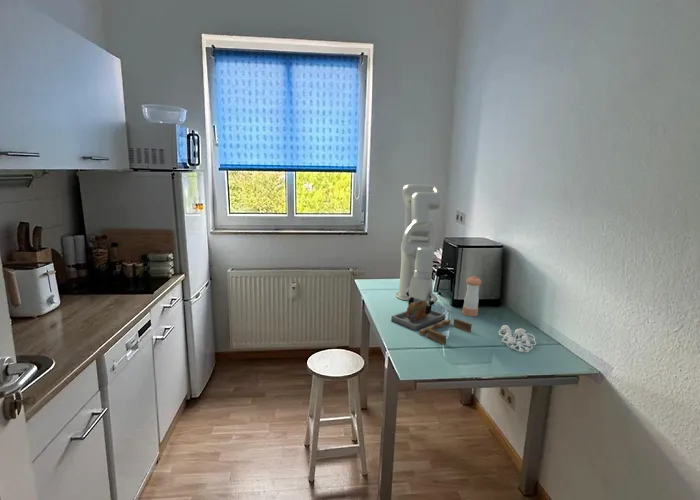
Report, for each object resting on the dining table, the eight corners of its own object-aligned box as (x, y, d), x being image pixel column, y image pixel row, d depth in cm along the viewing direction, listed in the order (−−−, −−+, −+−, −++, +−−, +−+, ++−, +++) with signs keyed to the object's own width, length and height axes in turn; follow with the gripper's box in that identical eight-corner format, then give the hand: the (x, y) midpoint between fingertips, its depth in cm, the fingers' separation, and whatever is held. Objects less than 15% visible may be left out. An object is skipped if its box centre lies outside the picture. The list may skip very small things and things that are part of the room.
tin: (410, 323, 181) (411, 305, 179) (404, 321, 183) (406, 303, 181) (430, 316, 191) (431, 299, 189) (424, 314, 193) (426, 297, 191)
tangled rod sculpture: (538, 359, 158) (541, 350, 157) (500, 350, 162) (502, 340, 160) (532, 338, 176) (534, 329, 175) (497, 330, 180) (499, 321, 179)
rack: (447, 323, 186) (448, 315, 185) (471, 331, 177) (471, 324, 177) (419, 334, 171) (420, 326, 171) (443, 344, 163) (444, 336, 162)
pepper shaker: (479, 316, 195) (484, 278, 191) (464, 316, 196) (468, 277, 191) (475, 311, 203) (479, 274, 198) (460, 310, 203) (464, 273, 199)
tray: (420, 310, 199) (421, 306, 199) (444, 319, 190) (445, 314, 189) (391, 321, 184) (391, 316, 184) (415, 331, 175) (416, 325, 174)
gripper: (402, 271, 186) (399, 306, 190) (433, 280, 174) (429, 318, 178) (412, 268, 191) (409, 303, 195) (443, 277, 179) (439, 314, 183)
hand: (419, 310), depth 186 cm, fingers open, 9 cm apart
